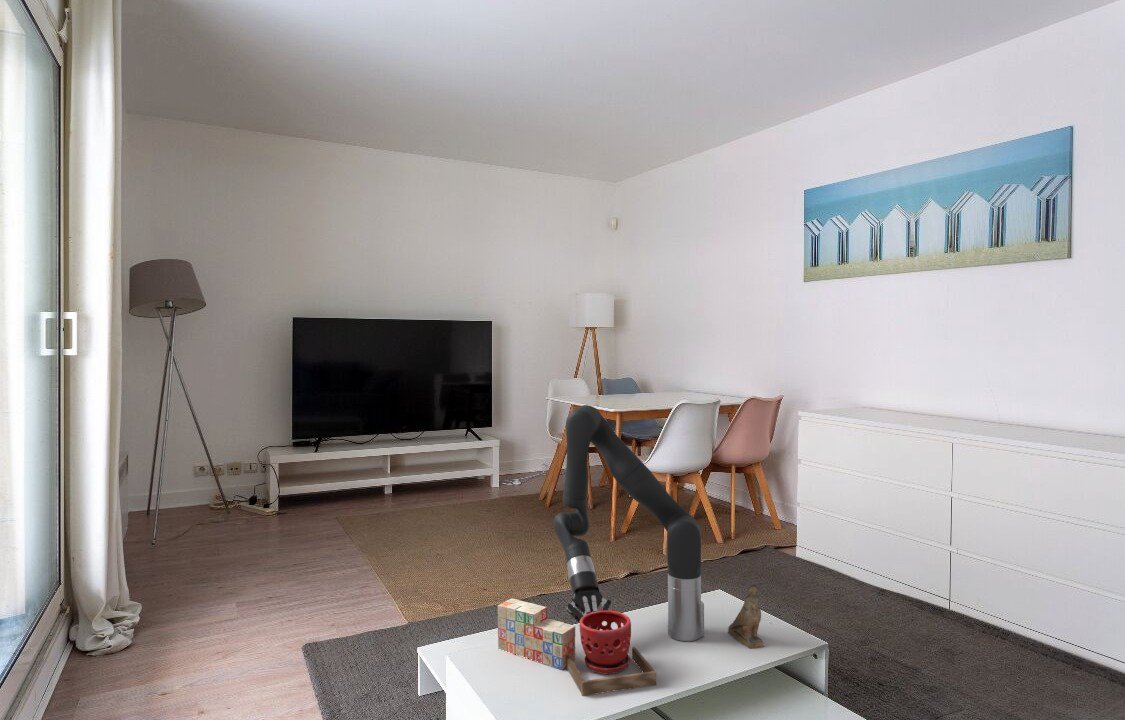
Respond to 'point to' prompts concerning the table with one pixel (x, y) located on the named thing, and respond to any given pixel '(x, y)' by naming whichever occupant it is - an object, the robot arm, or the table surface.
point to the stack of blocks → (534, 633)
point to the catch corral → (614, 682)
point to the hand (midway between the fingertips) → (595, 637)
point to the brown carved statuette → (748, 621)
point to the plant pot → (606, 641)
